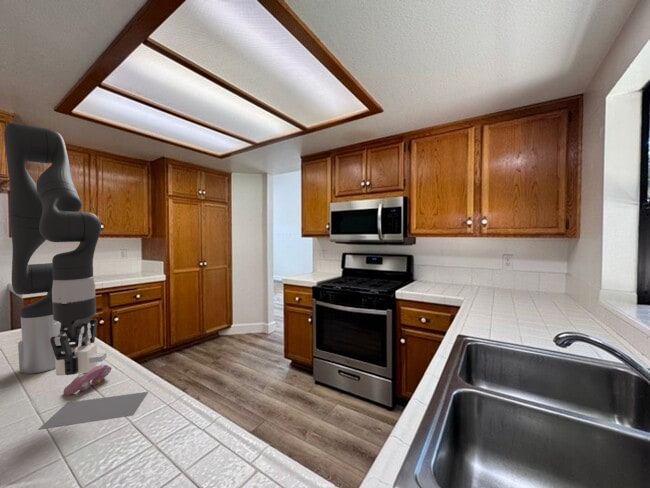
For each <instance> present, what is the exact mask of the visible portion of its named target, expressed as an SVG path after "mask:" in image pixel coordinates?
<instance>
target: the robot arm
mask: <svg viewBox="0 0 650 488" xmlns="http://www.w3.org/2000/svg"><path fill="white" fill-rule="evenodd" d="M3 135H4V136H3V140H4V147H5V148H4V150H5V156H6V163H7V171H8V181H9V220H10V221H9V223H10V233H11V242H12V259H11V288H12V290H13V292H14V294H17V295H18V296H19V295H20V296H21V295H22V296H23V295H31V294H41V293H47V294H46V295H45V296H43V297H42V298H41V299H39V300H37V301H34V302H32V303H28V304H27V305H24V306H23V307H21V308H20V327H21V329H20V330H21V340H20V341H18V343H17V346H18V347H17V350H18V351H17V353H18V365H19V366H18V372H19V373H20V374H21V373H25V374H29V375H30V374H37V373H43V372H47V371H51V370H54V369H56V365H55V357H56V360H64V361H65V374H66V375H65V376H72V375H77V374H76V373H77V372H78V357H77V356H78V348H79V347H80V346H87V345H92V344H94V343H95V341H96V340H95V339H96V333H97V323H98V319H97V318H91V317H93V316H95V315H96V313H97V299H96V284H95V279H94V256H95V253H96V247H97V243H98V241H99V238H100V235H101V231H102V223H101V220H100V218H99V217H98V215H96V214H94V213H93V212H90V211H80V210H81V209H82V206H83V205H82V200H81V198H80V196H79V194H78V191H77V189H76V186H75V184H74V182H73V178H72V173H71V172H72V171H71V166H70V161H69V156H68V155H69V154H68V151H67V147H66V143H65V140H64V138H63V136H62V135H61V133H59V132H58V131H56V130H53V129H51V128H50V129H49V128H45V127H39V126H34V125H28V124H24V123H23V124H22V123H17V122H9V123H7V124H6V125H5V127H4V133H3ZM26 162H32V163H41V164H51V165H50V166H49V167H48V168H47V169H45V171H43V172H42V173H41V174H40V175H39V177H38V178H37V181H36V182H35V180H34V179H33V178H32V176H31V175H30V173H29V172H28V170H27V166H26ZM45 241H48V242H53V243H78V242H79V244H78V246H77V247H76V248H75V249H73V250H69V251H65V252H60V253H58V254H55V255H54V256H53V257H52V261H51V262H49V263H47V262H46V263H31V264H29V262H30V259H31V258H32V256H34V253H35V252H36V251H37V250H38V249H39V247H40V246H42V245H43V244H44V243H45ZM71 348H73V352H72V350H71ZM61 352H62V353H61Z"/></svg>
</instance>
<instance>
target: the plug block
mask: <svg viewBox="0 0 650 488" xmlns="http://www.w3.org/2000/svg"><path fill="white" fill-rule="evenodd" d="M97 346H98V345H97V344H91V345H87V346H80V347H79V348H78V356H77V357H78V372H77V373H76V374H75V375H78V374H79V375H80V374H82V373H88V372H89V371H90V370H92V369H93V368H94V367H95V366H98V363H99V362H101V363H102V362H103V361H105V360H106V358H107V352H101V353H98V351H97V349H98V348H97ZM71 350H72V352H73V348H71ZM61 353H62V352H61ZM55 365H56V368H55V375H56V376H67V375H66V374H65V361H64V360H56V357H55Z"/></svg>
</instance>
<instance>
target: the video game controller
mask: <svg viewBox="0 0 650 488" xmlns="http://www.w3.org/2000/svg"><path fill="white" fill-rule="evenodd" d="M111 371H112V366H109V365H107V364H105V363H100V365H96V366H95V367H94V368H93V369H92V370H90V371H89V372H88V373H79V375H78V374H77V376H76V377H75V378H74V379H73V380H72V381H71V382H70V383H69V384H68V385H67V386H65V388H64V389H63V395H64V396H72V395H74V394H76V392H79V391H80V392H83V391H86V390H87V389H89V388H91V386H92V385H93V386H95V385H97V384H100V383H101V382H102V381H103V380H104V379H105V378H106V377H107V376H108V375H109V374H110V373H111Z"/></svg>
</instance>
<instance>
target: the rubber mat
mask: <svg viewBox="0 0 650 488" xmlns="http://www.w3.org/2000/svg"><path fill="white" fill-rule="evenodd" d="M148 394H149V391H145V392H143V391H142V392H136V393H135V392H134V393H128V394H121V395H113V396H106V397H99V398H92V399H84V400H78V401H76V400H75V401H69V402H66V403H65V404H64V405H63V406H62V407H61V408H59V410H58V411H56V412H55V413H54V414H53V415H52V416H51V417H49V419H47V420H46V422H44V423H43V424H42V425H41V426H40V427H39V428H38V431H39V430H45V429H53V428H59V427H64V426H71V425H78V424H79V425H80V424H85V423H91V422H98V421H104V420H113V419H119V418H124V417H131V416H134V415H135V414H136V412H137V410H138V408H139V407H140V406H141V405H142V403H143V401H144V400H145V398H146V397H147V395H148Z"/></svg>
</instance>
